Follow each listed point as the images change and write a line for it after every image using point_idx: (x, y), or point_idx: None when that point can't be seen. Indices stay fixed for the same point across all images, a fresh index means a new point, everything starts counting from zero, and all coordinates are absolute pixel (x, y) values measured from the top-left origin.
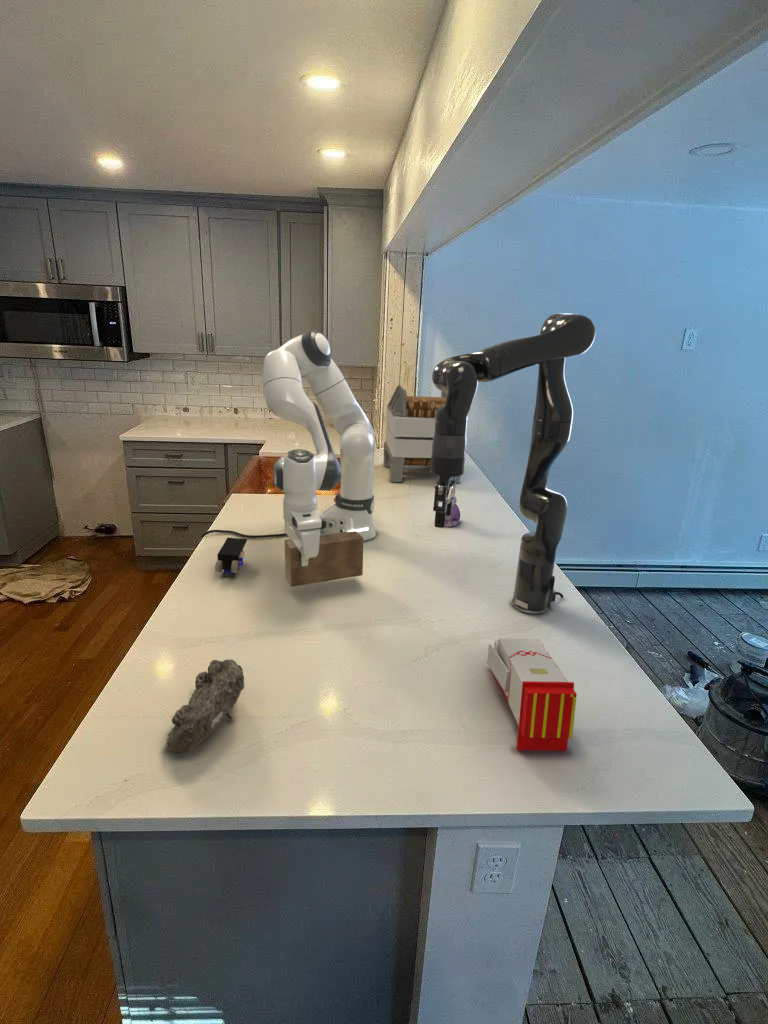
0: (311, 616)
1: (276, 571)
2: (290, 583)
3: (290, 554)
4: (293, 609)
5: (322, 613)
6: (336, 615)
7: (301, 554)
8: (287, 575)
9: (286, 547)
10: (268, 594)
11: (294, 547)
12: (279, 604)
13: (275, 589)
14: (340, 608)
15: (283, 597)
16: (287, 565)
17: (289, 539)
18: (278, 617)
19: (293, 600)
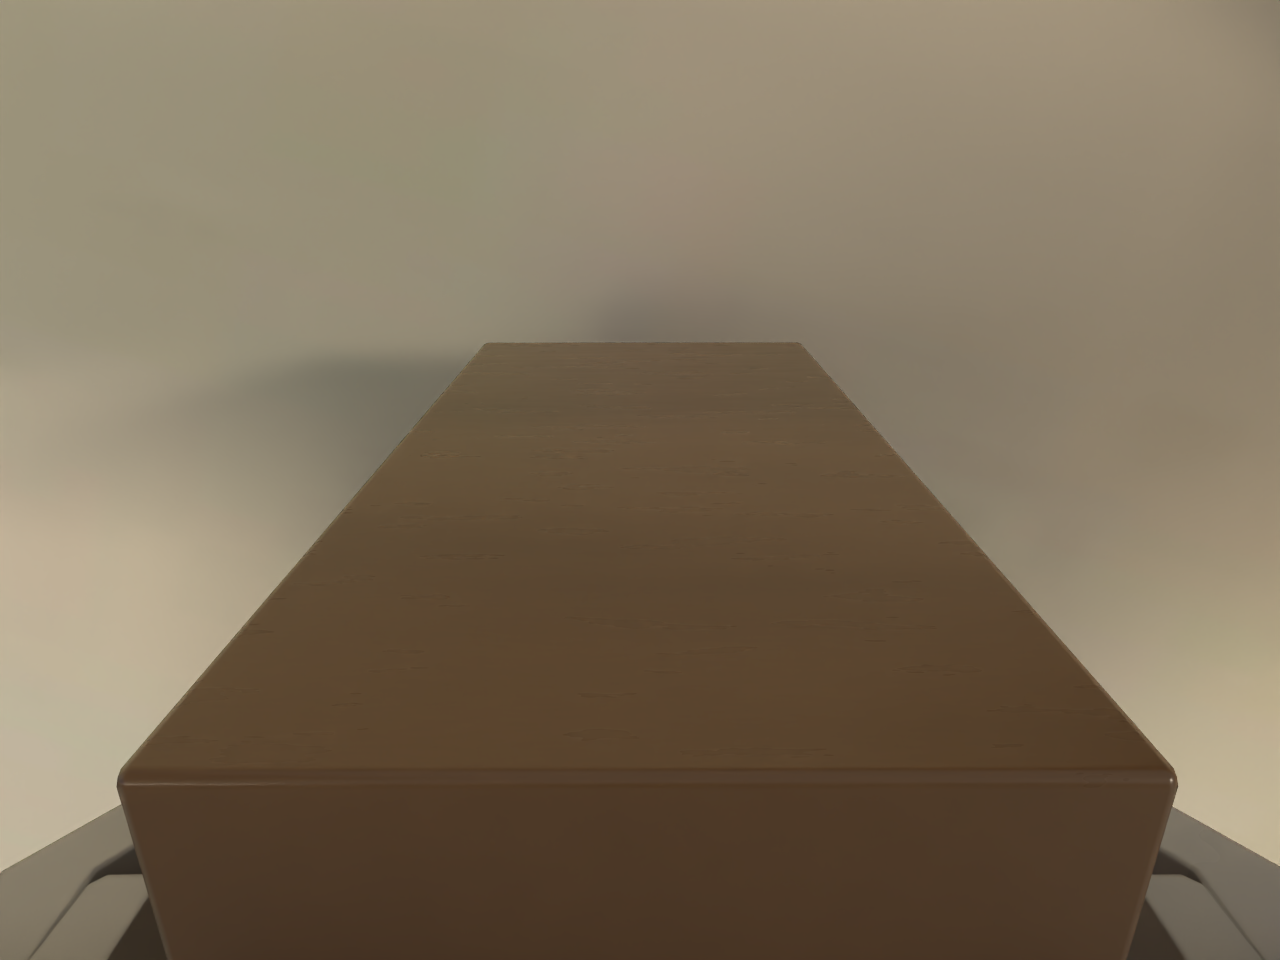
0: (7, 402)
1: (1267, 326)
2: (506, 352)
3: (266, 603)
4: (199, 254)
5: (62, 526)
6: (5, 635)
7: (84, 892)
8: (674, 365)
9: (797, 631)
10: (678, 40)
11: (160, 927)
12: (361, 116)
13: (781, 176)
14: (143, 707)
15: (532, 219)
16: (670, 421)
17: (1113, 954)
18: (18, 6)
19: (421, 317)
